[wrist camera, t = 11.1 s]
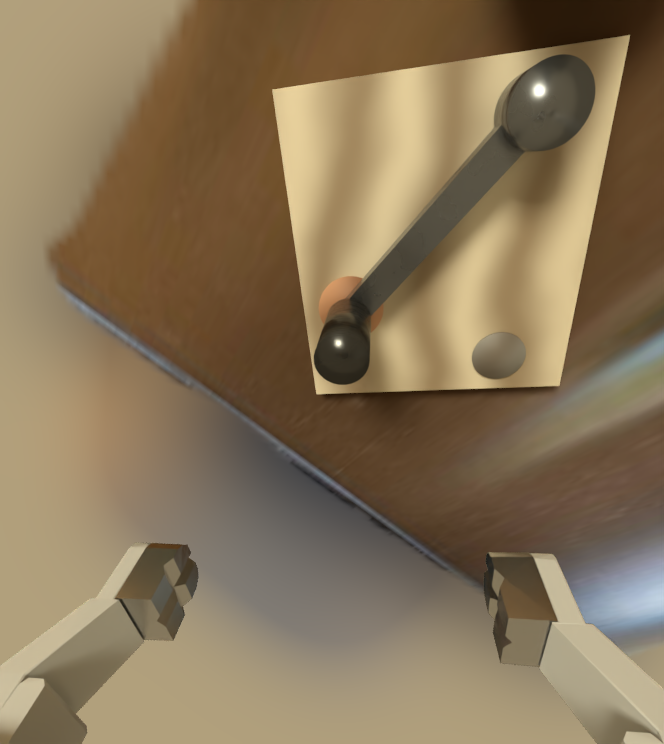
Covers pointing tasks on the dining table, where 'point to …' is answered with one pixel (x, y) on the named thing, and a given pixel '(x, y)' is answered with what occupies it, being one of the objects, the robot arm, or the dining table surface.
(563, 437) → the dining table surface
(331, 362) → the lever
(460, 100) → the lever board
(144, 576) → the robot arm
